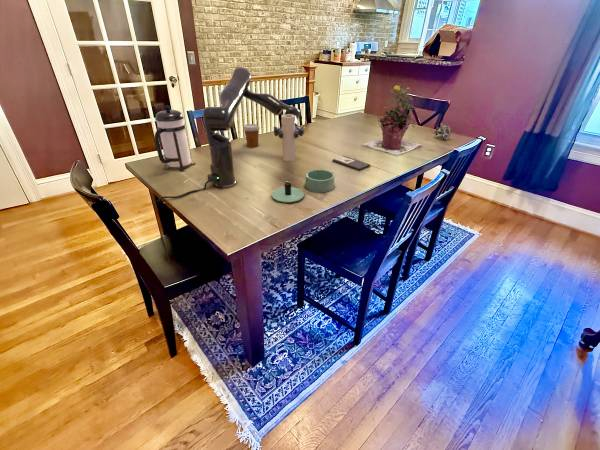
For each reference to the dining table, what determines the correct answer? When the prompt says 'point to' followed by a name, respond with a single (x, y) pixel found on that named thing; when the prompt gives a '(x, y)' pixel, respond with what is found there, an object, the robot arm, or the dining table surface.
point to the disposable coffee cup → (251, 134)
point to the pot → (319, 180)
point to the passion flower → (443, 131)
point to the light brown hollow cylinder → (288, 137)
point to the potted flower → (395, 126)
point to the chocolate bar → (351, 163)
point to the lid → (288, 194)
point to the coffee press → (172, 139)
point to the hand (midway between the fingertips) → (288, 136)
